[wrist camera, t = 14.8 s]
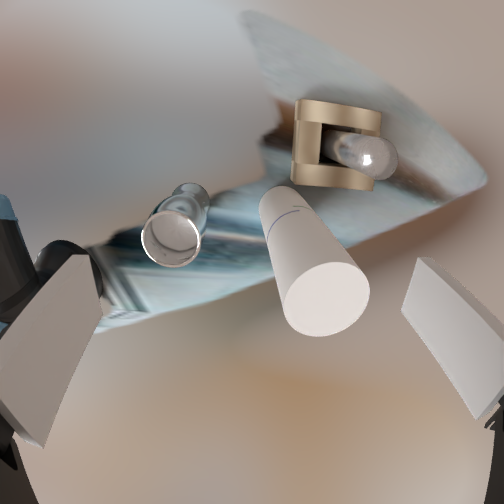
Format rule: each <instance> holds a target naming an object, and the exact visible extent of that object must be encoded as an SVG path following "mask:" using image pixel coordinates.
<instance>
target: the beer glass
mask: <svg viewBox="0 0 504 504" xmlns="http://www.w3.org/2000/svg"><path fill="white" fill-rule="evenodd" d="M209 206H210V199H209V195H208V193H207V192H206V190H205V189H204V188H203V187H201V186H200V185H198V184H195V183H185V184H182V185H180V186H179V187H177V188H176V189H175V190H174V192H173V193H172V196H170V197H168V198H166V199H164V200H163V201H162V202H161V203H159V204H158V206H156V207H155V209H154V210H153V211H152V213H151V214H150V216H149V218H148V220H147V221H146V223H145V224H144V226H143V229H142V235H141V239H142V245H143V247H144V250H145V252H146V253H147V255H148V256H149V257H150V258H151V259H152V260H153V261H155V262H156V263H158V264H160V265H162V266H165V267H172V268H174V267H181V266H184V265H186V264H188V263H190V262H191V261H192V260H193V259H194V258H195V257H196V256H197V254H198V252H199V250H200V247H201V245H202V243H203V240H204V237H205V234H206V229H207V217H206V213H207V211H208V209H209Z"/></svg>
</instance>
